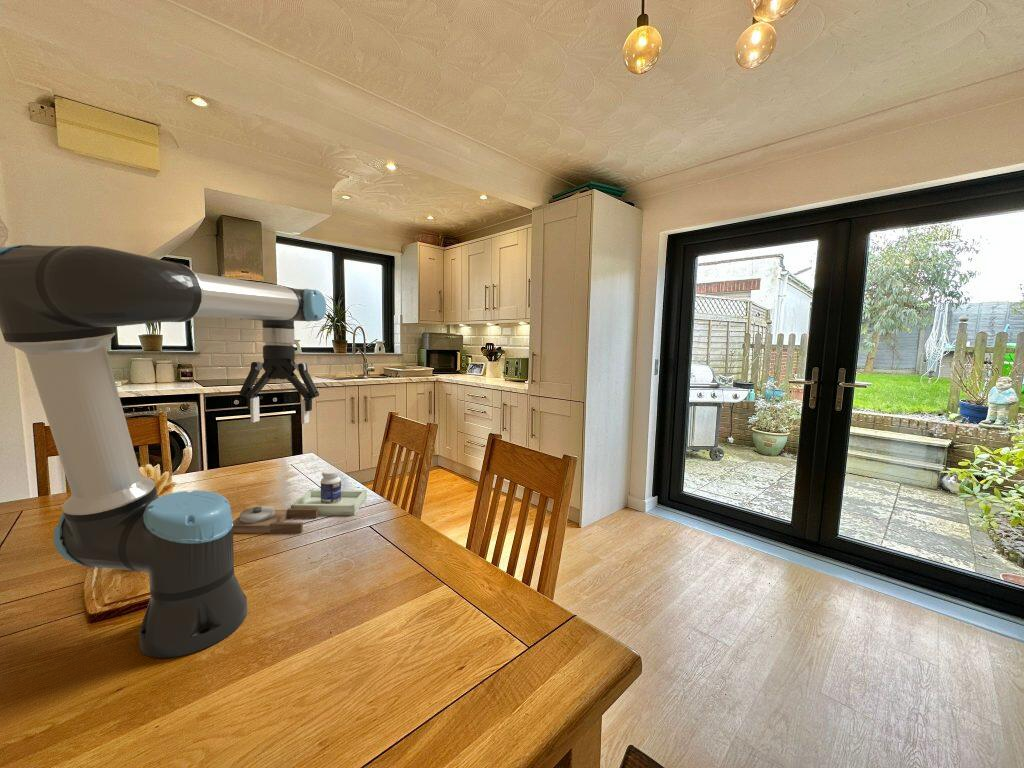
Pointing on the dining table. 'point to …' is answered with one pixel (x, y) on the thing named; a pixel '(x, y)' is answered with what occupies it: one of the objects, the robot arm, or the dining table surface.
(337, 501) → the pill bottle
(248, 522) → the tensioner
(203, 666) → the dining table surface
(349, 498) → the tray
